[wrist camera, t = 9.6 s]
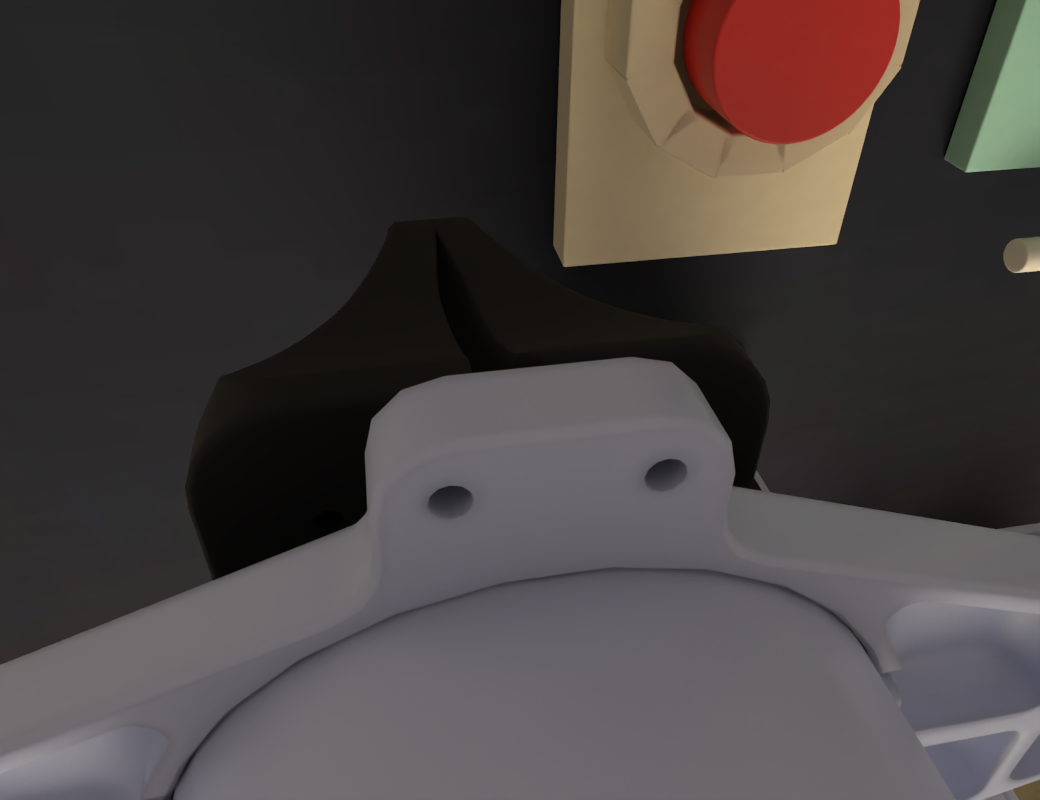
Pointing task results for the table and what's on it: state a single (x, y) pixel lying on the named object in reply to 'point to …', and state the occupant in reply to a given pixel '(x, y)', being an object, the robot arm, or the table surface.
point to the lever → (1023, 255)
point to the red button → (788, 61)
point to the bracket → (1002, 95)
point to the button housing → (681, 149)
